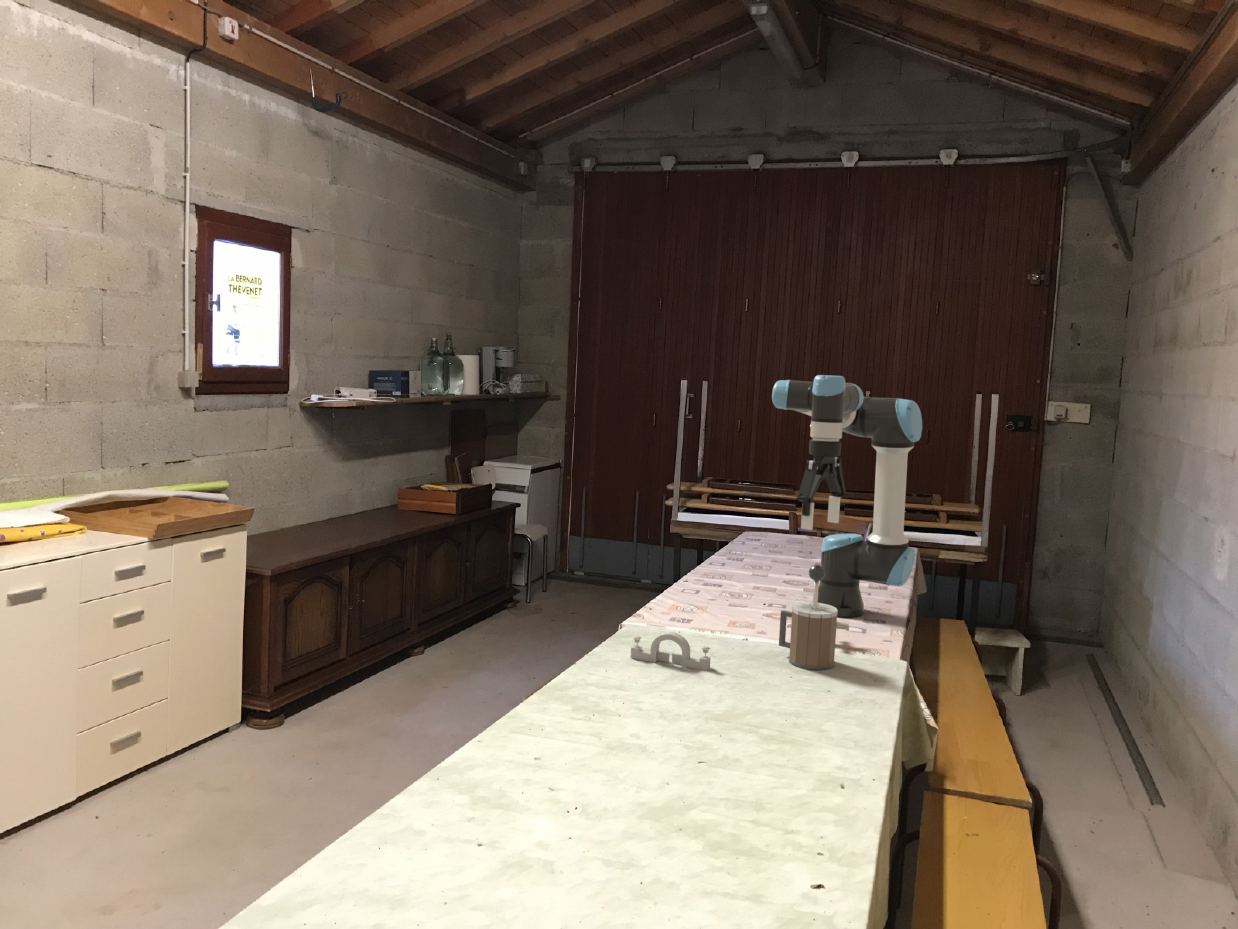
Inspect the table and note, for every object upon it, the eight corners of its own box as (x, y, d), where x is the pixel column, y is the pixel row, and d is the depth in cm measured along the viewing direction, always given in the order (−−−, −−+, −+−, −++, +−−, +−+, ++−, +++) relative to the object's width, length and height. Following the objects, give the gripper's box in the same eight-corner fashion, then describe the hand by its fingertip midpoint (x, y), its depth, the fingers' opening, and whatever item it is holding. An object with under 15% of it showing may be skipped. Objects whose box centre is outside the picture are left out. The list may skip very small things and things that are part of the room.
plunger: (805, 644, 242) (810, 559, 240) (834, 651, 237) (839, 565, 235) (789, 651, 236) (795, 564, 234) (818, 658, 231) (824, 570, 229)
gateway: (709, 669, 231) (711, 637, 230) (707, 672, 229) (708, 640, 228) (633, 657, 238) (635, 626, 237) (630, 660, 236) (631, 628, 235)
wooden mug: (790, 649, 247) (793, 597, 245) (841, 663, 238) (845, 608, 236) (768, 659, 239) (771, 604, 237) (820, 673, 230) (824, 617, 228)
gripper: (835, 435, 242) (829, 517, 245) (786, 440, 223) (780, 529, 226) (862, 438, 238) (857, 521, 240) (814, 443, 219) (809, 534, 221)
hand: (820, 525), depth 233 cm, fingers open, 13 cm apart
